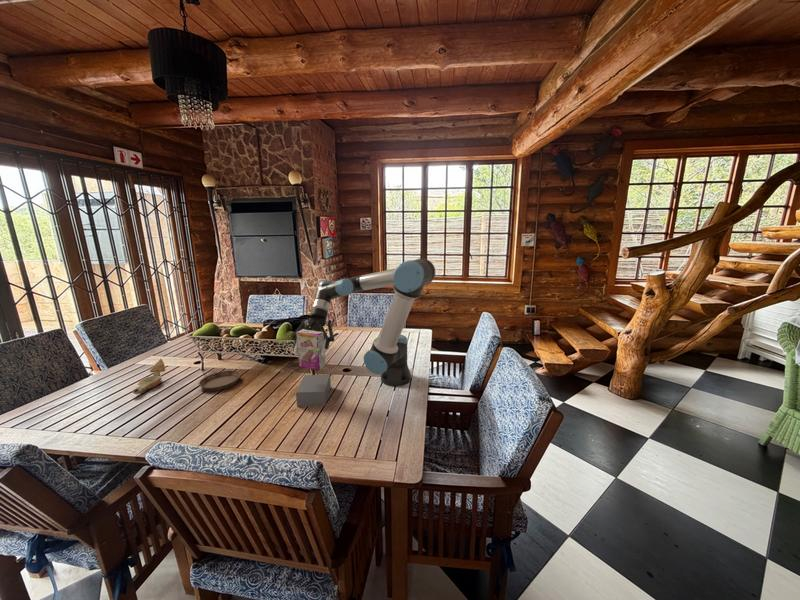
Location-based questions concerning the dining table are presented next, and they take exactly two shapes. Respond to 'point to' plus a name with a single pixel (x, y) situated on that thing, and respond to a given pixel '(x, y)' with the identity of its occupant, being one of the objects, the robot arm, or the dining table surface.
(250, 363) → the dining table surface
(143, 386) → the oil lamp
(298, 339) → the candy bar box
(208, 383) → the plant saucer
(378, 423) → the dining table surface
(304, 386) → the charcoal block
